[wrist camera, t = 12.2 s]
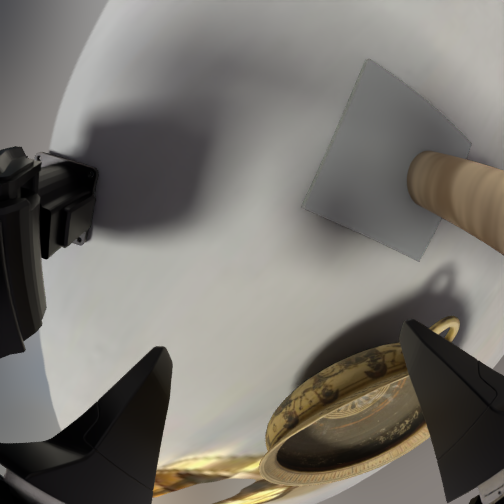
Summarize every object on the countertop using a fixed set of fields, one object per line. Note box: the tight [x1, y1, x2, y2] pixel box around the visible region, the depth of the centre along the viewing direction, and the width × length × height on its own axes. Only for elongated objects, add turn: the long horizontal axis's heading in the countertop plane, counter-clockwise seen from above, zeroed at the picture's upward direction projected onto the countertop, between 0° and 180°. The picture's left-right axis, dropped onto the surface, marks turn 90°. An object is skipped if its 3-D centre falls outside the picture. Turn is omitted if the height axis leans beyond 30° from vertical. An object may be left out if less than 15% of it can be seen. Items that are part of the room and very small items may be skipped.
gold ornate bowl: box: [259, 316, 460, 486], centre depth 25 cm, size 30×24×10 cm
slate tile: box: [302, 59, 472, 262], centre depth 19 cm, size 13×13×1 cm
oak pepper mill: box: [407, 151, 504, 255], centre depth 14 cm, size 5×5×12 cm
